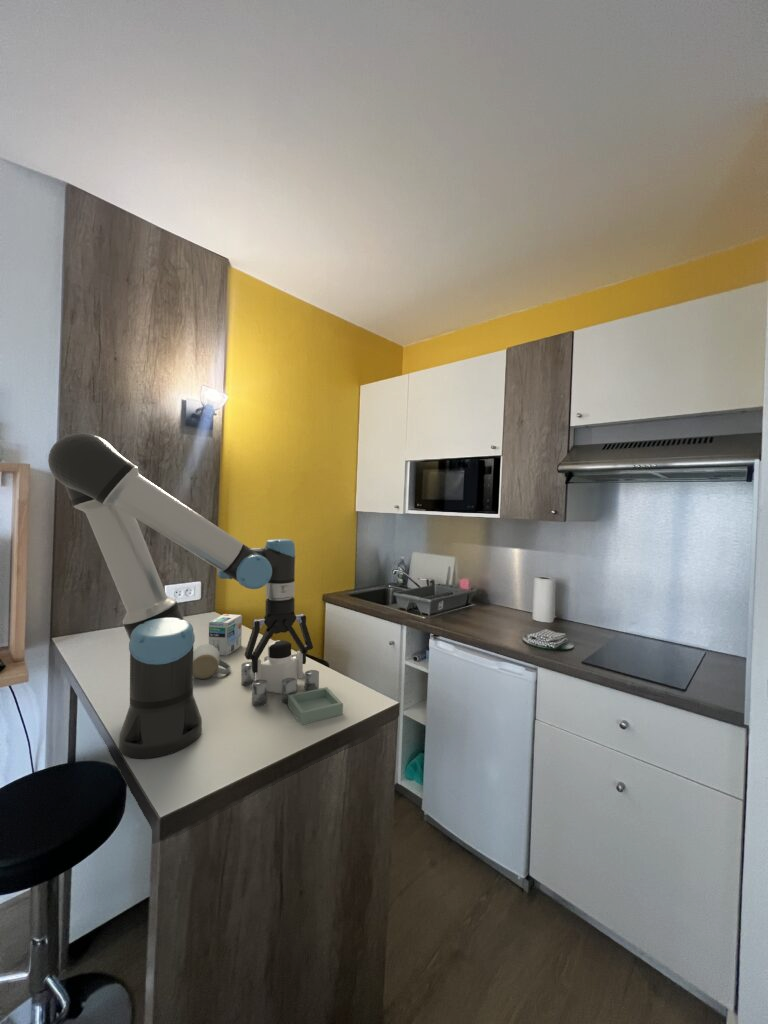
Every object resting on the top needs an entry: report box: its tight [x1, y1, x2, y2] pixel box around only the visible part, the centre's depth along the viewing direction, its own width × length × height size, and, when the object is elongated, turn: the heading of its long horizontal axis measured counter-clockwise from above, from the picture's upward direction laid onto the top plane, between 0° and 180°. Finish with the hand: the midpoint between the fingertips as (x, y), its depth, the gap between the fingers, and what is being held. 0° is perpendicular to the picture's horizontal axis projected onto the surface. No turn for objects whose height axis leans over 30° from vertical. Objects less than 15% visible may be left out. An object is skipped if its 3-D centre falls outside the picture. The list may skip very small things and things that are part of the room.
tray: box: [287, 687, 344, 726], centre depth 100 cm, size 10×10×3 cm
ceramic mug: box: [193, 643, 232, 680], centre depth 120 cm, size 11×8×8 cm
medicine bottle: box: [261, 639, 298, 695], centre depth 112 cm, size 7×7×12 cm
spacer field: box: [240, 653, 320, 707], centre depth 112 cm, size 17×22×5 cm
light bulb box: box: [208, 613, 243, 656], centre depth 141 cm, size 11×7×11 cm, turn 173°
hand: (279, 680), depth 112 cm, fingers open, 10 cm apart
